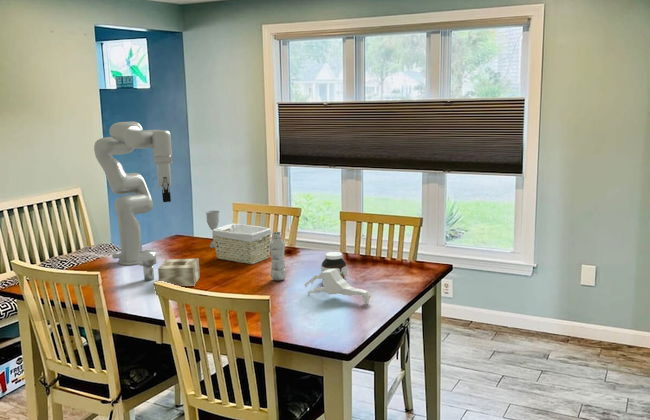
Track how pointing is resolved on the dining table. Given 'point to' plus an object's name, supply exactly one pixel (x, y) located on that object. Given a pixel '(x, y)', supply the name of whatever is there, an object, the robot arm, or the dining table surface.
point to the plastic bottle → (277, 257)
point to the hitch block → (180, 271)
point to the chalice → (212, 222)
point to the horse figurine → (337, 285)
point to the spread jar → (335, 263)
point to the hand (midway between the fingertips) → (166, 200)
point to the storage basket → (242, 243)
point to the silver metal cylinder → (147, 263)
